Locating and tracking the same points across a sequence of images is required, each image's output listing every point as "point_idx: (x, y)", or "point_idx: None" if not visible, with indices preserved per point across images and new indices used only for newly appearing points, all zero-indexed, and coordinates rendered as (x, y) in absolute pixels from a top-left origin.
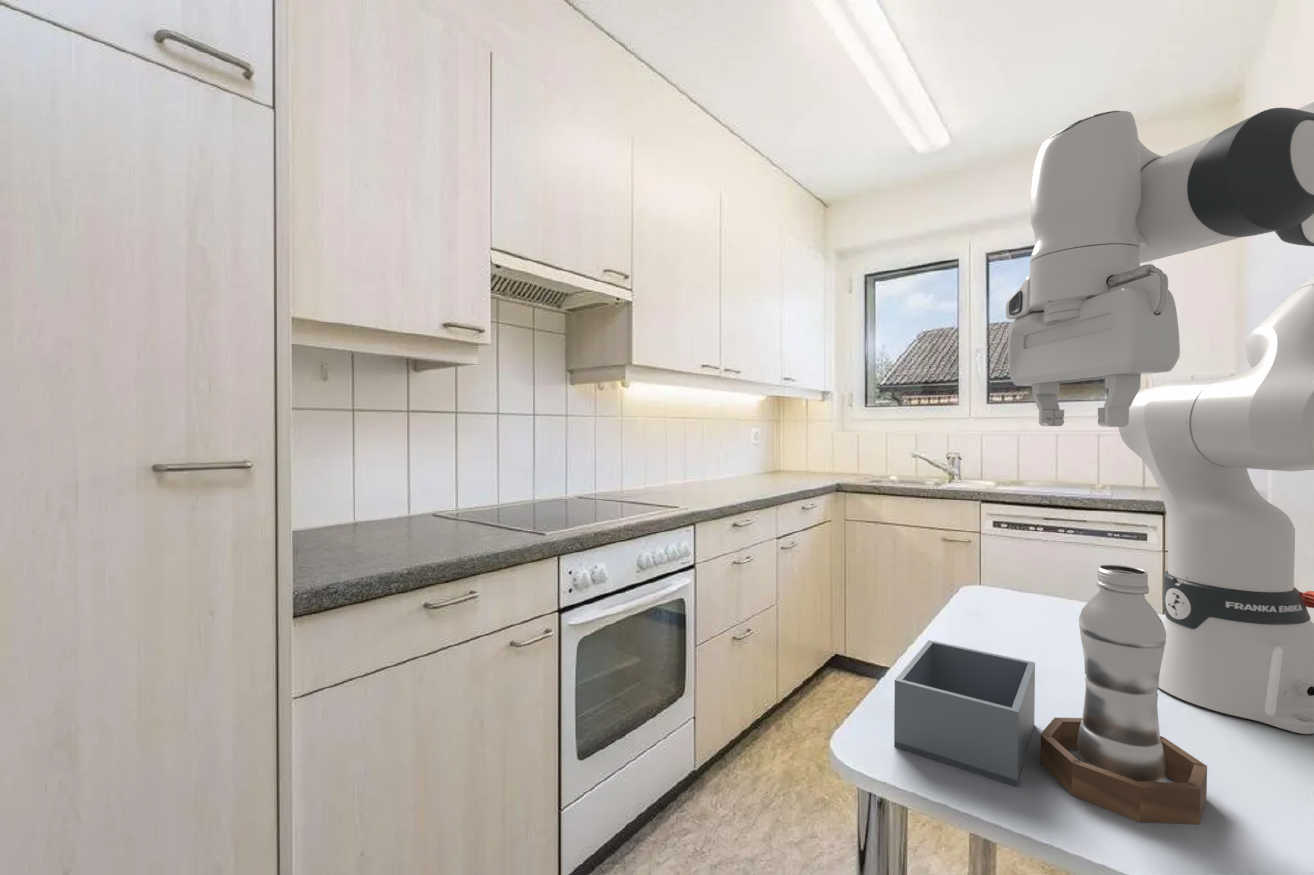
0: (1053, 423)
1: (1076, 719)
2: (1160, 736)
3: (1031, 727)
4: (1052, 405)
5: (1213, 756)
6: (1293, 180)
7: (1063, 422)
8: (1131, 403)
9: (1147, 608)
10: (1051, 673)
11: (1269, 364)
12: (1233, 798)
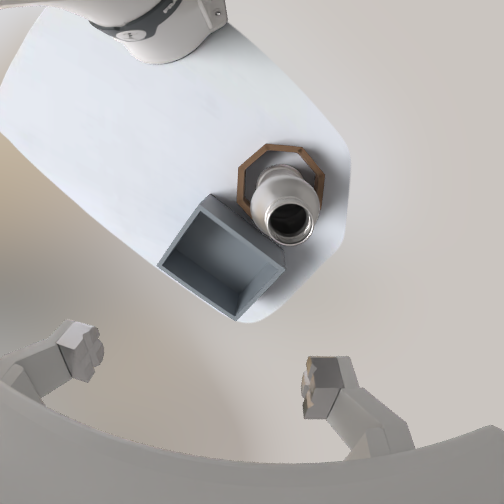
0: (99, 347)
1: (240, 188)
2: (265, 145)
3: (224, 206)
4: (51, 362)
5: (252, 98)
6: None
7: (93, 329)
8: (369, 394)
9: (311, 207)
10: (126, 129)
11: None
12: (299, 129)
